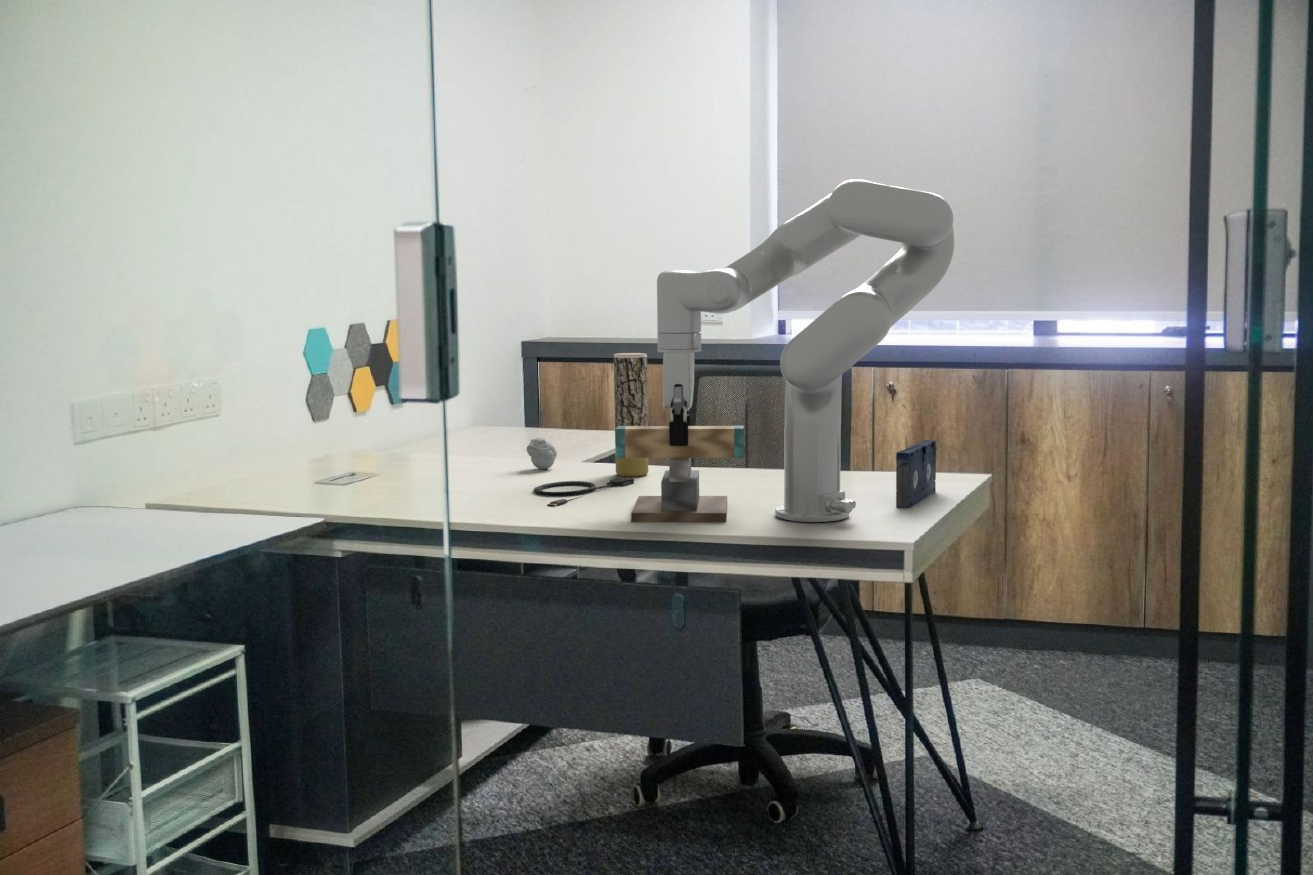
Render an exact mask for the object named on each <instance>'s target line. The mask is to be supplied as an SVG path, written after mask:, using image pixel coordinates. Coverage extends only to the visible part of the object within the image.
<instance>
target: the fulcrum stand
mask: <svg viewBox="0 0 1313 875" xmlns="http://www.w3.org/2000/svg"><path fill="white" fill-rule="evenodd" d="M668 463H669V464H668V468H669V469H666V470H664V473H663V477H662V479H661V482H660V493H661V494H660V495H638V497H637V499H636V501H635V503H634V506H633V509H632V510H631V513H630V514H631V515H630V518H631V519H630V522H633V523H634V522H635V523H637V522H639V523H642V522H643V523H646V522H647V523H649V522H651V523H652V522H653V523H654V522H655V523H656V522H657V523H659V522H662V523H666V522H668V523H669V522H670V523H675V522H676V523H695V522H696V523H726V522H727V513H728V496H727V495H700V470H699V469H697V470H692V458H669V462H668Z"/></svg>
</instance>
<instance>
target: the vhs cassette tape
mask: <svg viewBox="0 0 1313 875" xmlns="http://www.w3.org/2000/svg"><path fill="white" fill-rule="evenodd" d="M936 441H937V440H929V439H928V440H927V439H923V441H922V440H921V441H919V442H917V443H915V444H912V445H910V446H909V447H906V448H905V449H903V450H900V451H897V452H896V454H895V455H896V457H895V463H896V467H895V468H896V469H895V471H896V472H895V474H896V475H895V476H896V478H895V481H896V482H895V485H896V486H895V488H896V489H895V492H896V493H895V500H896V501H895V508H897V509H908V508H910V509H911V508H913V507H914V506H916V505H917V504H919V503H920V502H922V501H923V499H924V500H925V499H927V498H929V497H930V496H931V495H933V494H934V493H936V488H937V487H936V479H937V478H936V477H937V475H936V474H937V465H936V464H937V442H936ZM915 504H916V505H915Z"/></svg>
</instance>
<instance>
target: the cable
mask: <svg viewBox="0 0 1313 875" xmlns="http://www.w3.org/2000/svg"><path fill="white" fill-rule="evenodd" d="M634 484H635V478H633V477H622V476H620V477H619V476H616V477H614V478H611V479H610V480H609V482H607V483H606V485H601V486H596V484H595V483H593V482H588V481H583V480H582V481H580V480H579V481H577V480H576V481H575V480H573V481H572V480H569V481H556V482H549V483H545V484H541V485H538V486H535V487H534V488H533V492H535V494H536V495H539V496H543V497H553V498H554V497H555V498H556V497H557V498H558V497H559V498H560V497H561V498H562V497H574V496H576V497H574V498H571V499H566V498H565V499H564V498H562V499H558V500H557V499H556V500H553V501H550V502H549V503H547V505H546V506H547V507H553V508H556V507H559V506H564V505H566V504H568V502H571V501H574V500H577V499H580V498H583V496H584V495H587V494H588V495H589V494H591V493H593V492H595V491H596V490H600V489H605V488H613V487H614V488H616V487H626V486H630V485H634ZM557 487H558V488H559V487H585V488H583V489H577V490H570V491H568V490H567V491H544V490H546V489H547V490H548V489H551V488H557ZM586 487H587V488H586ZM581 495H582V496H581ZM577 496H578V497H577Z"/></svg>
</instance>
